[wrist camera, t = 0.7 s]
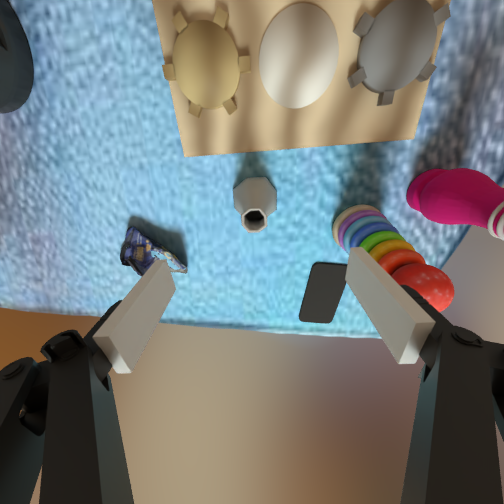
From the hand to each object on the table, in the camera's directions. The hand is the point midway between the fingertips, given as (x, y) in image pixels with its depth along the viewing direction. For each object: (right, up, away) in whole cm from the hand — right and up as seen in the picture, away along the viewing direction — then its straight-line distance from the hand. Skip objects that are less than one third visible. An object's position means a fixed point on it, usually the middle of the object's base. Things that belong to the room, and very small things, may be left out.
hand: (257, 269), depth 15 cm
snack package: (-19, +1, +24) cm, 30 cm away
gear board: (+5, +24, +10) cm, 26 cm away
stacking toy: (+17, +6, +20) cm, 27 cm away
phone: (+14, -7, +27) cm, 32 cm away
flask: (0, +10, +18) cm, 21 cm away
